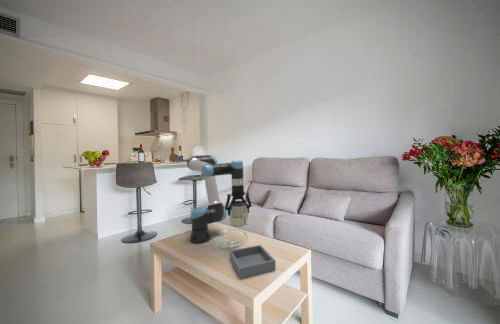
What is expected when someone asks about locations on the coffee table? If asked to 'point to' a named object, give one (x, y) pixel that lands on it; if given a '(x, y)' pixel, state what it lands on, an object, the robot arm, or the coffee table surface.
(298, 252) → the coffee table surface
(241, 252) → the bin
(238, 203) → the coffee can
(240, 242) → the coffee table surface
